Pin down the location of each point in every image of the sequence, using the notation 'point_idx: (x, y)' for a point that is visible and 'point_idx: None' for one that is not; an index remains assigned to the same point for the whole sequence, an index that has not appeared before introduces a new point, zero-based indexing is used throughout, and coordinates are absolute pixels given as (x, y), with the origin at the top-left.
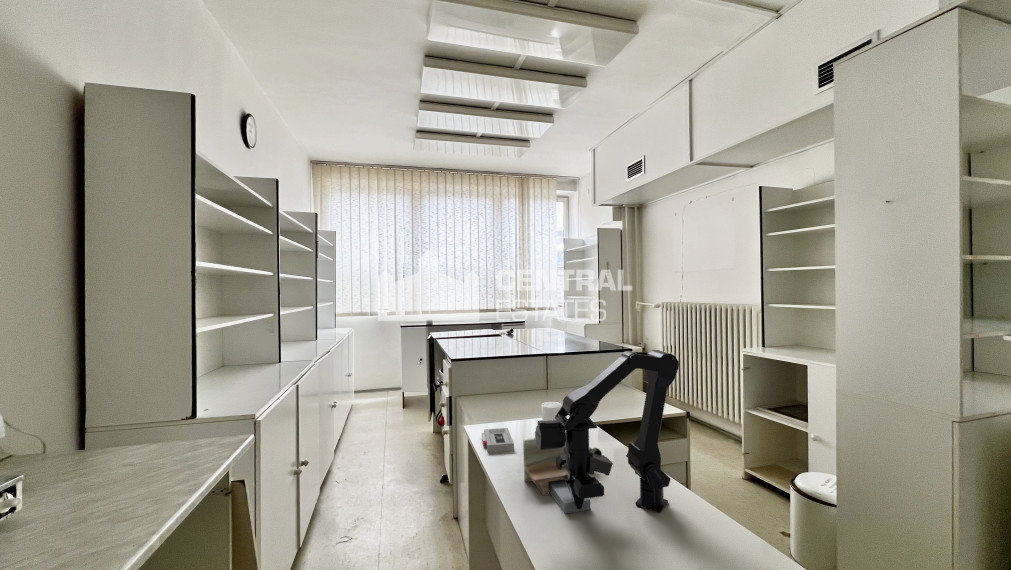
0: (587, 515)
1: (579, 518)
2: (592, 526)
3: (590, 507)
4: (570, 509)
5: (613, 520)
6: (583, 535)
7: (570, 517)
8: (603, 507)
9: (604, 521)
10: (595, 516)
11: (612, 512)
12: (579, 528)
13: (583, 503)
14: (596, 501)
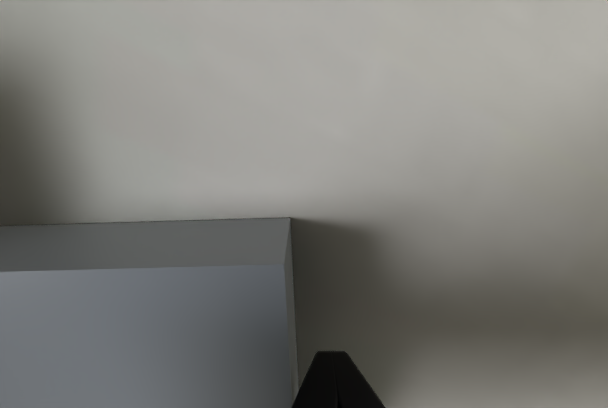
0: (373, 276)
1: (394, 347)
2: (537, 296)
3: (287, 224)
4: None
5: (543, 71)
6: (605, 390)
7: None
8: (277, 66)
9: (518, 170)
10: (411, 217)
11: (401, 6)
12: (516, 387)
13: (291, 325)
14: (141, 92)
